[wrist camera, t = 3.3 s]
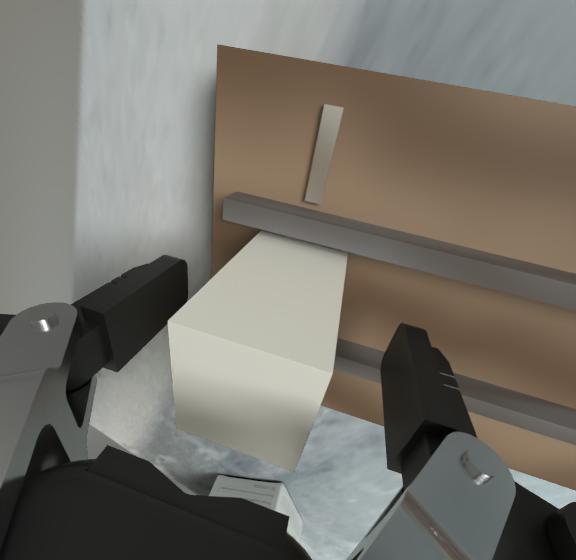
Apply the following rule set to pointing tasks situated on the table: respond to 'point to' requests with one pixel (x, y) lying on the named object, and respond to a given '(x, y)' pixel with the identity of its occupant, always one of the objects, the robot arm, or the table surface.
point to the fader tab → (259, 348)
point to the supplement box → (261, 498)
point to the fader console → (418, 231)
